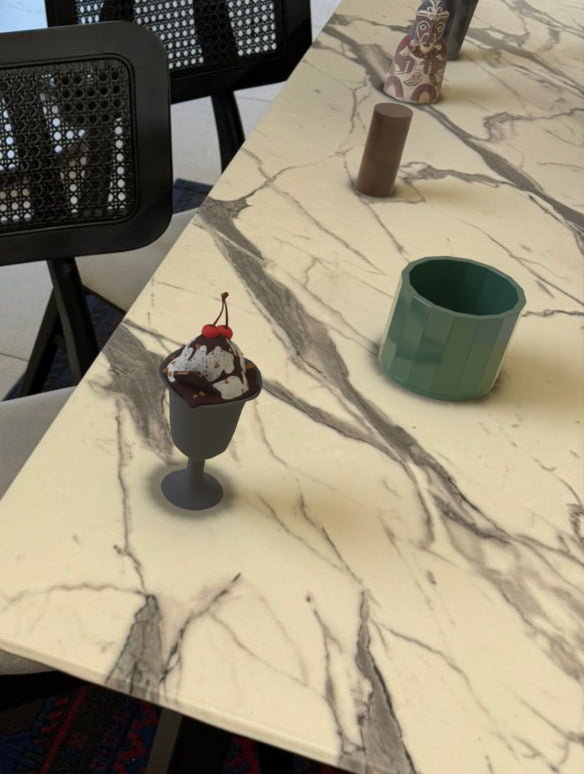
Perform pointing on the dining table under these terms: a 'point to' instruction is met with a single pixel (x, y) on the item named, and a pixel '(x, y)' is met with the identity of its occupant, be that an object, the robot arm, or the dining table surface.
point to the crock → (450, 327)
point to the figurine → (420, 57)
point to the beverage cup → (457, 24)
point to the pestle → (383, 149)
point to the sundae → (205, 408)
